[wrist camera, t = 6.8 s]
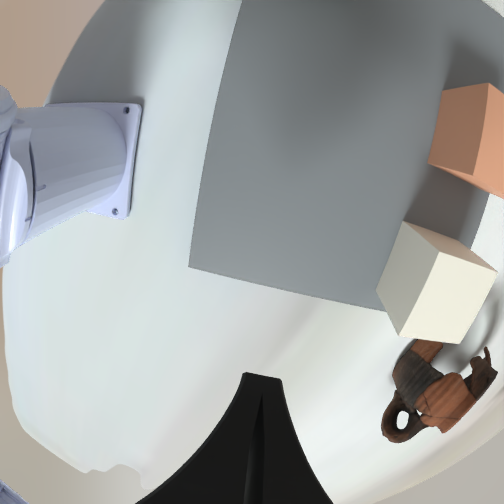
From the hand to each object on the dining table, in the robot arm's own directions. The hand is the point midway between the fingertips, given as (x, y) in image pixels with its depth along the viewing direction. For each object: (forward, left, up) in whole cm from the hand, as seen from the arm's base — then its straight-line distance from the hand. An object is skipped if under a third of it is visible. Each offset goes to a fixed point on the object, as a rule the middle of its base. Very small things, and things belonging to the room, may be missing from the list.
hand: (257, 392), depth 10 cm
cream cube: (+10, +3, -9) cm, 14 cm away
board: (+4, +12, -10) cm, 17 cm away
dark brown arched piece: (+17, -7, -11) cm, 21 cm away
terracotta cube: (+10, +12, -9) cm, 18 cm away
